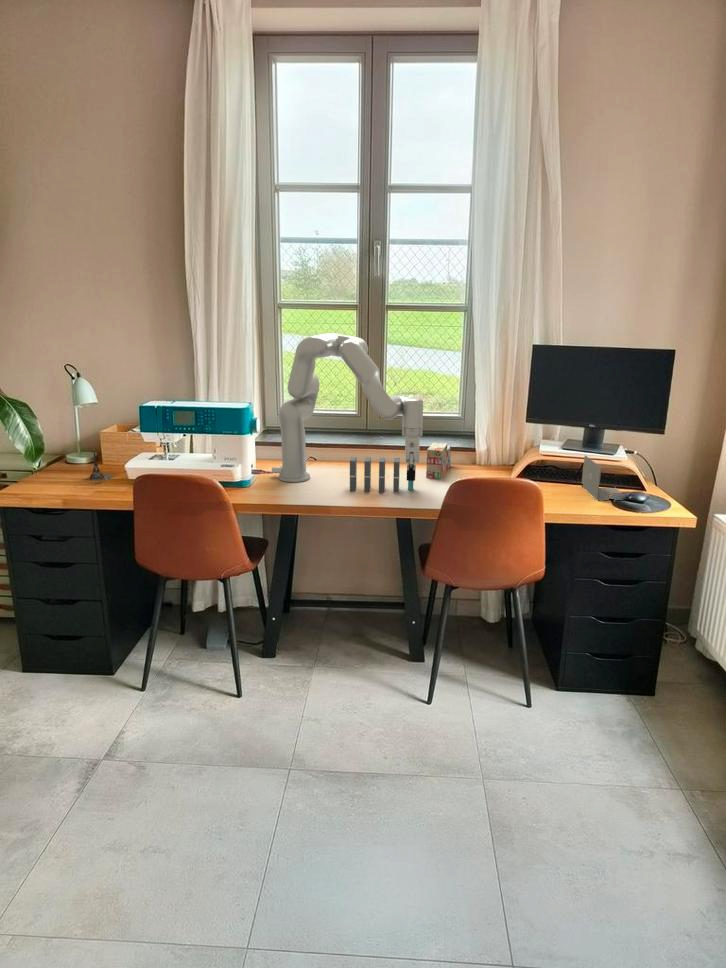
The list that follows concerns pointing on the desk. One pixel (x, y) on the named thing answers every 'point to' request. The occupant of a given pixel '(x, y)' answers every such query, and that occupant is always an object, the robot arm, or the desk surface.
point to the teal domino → (410, 482)
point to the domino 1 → (353, 473)
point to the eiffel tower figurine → (99, 473)
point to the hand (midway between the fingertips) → (411, 477)
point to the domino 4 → (396, 475)
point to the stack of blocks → (438, 460)
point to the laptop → (595, 480)
